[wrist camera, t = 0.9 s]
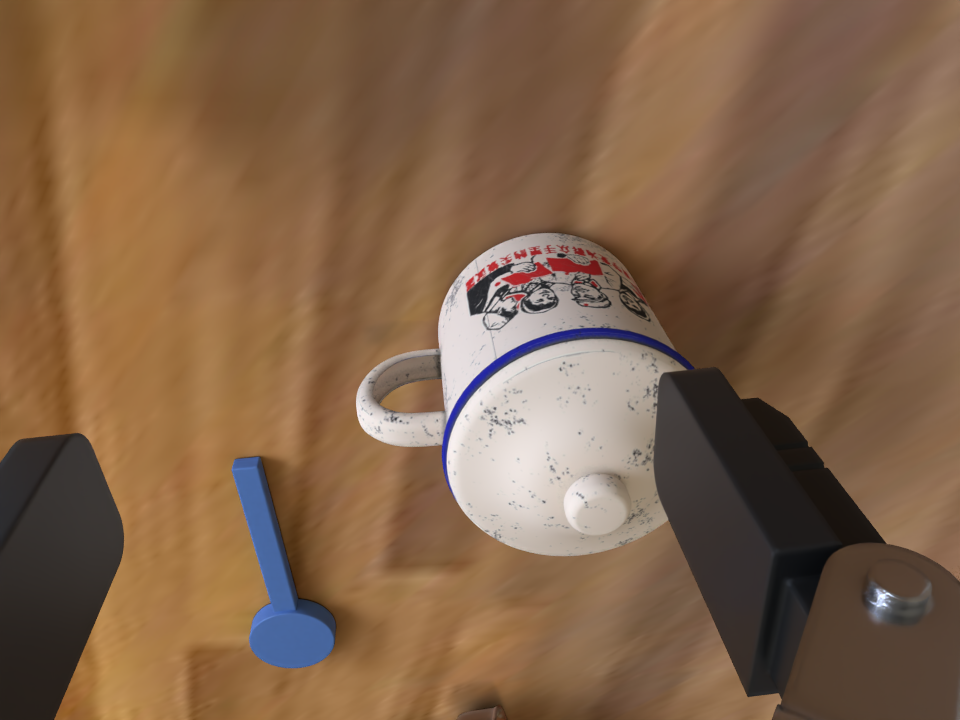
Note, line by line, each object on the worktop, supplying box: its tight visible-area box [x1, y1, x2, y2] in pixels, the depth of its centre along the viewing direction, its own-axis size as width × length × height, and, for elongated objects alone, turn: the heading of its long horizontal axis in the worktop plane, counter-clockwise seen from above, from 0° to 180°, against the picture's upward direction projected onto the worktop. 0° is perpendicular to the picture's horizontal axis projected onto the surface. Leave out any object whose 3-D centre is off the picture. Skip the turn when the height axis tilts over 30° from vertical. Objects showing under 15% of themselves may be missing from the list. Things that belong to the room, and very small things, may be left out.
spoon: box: [232, 457, 336, 668], centre depth 38 cm, size 14×4×1 cm, turn 3°
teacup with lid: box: [356, 233, 694, 556], centre depth 27 cm, size 12×9×12 cm
